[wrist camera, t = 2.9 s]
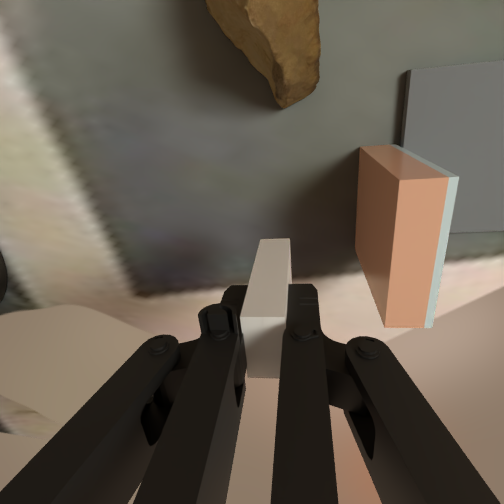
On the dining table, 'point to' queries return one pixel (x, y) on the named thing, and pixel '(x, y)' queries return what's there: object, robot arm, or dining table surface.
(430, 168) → the tile
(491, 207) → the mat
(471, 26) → the dining table surface
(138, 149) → the dining table surface
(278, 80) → the rock
